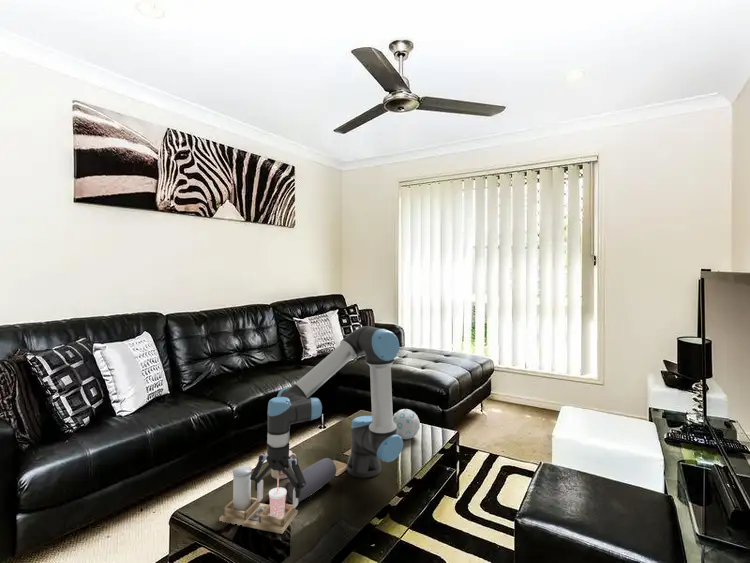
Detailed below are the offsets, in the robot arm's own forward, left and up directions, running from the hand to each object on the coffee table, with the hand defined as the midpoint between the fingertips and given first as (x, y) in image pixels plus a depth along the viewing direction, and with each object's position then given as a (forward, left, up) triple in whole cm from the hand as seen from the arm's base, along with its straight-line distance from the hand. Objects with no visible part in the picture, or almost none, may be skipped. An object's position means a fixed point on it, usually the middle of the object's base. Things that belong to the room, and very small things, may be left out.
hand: (277, 503), depth 143 cm
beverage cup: (0, 0, -5) cm, 5 cm away
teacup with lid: (+13, -31, -6) cm, 34 cm away
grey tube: (+14, 0, -5) cm, 15 cm away
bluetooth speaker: (-4, -20, -7) cm, 21 cm away
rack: (+7, 0, -6) cm, 9 cm away
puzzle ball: (-31, -83, -6) cm, 89 cm away
